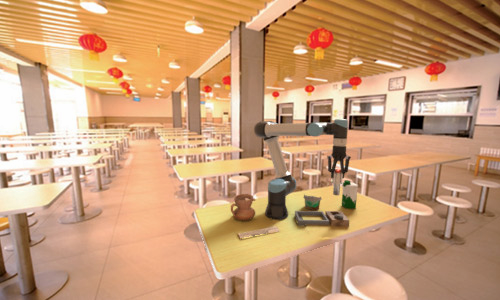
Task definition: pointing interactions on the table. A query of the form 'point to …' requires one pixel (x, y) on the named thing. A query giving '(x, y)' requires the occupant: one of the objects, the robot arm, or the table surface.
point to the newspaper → (259, 232)
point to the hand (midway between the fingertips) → (336, 183)
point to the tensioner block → (337, 218)
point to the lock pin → (337, 182)
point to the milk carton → (349, 195)
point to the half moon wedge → (312, 202)
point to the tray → (310, 222)
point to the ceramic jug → (243, 207)
